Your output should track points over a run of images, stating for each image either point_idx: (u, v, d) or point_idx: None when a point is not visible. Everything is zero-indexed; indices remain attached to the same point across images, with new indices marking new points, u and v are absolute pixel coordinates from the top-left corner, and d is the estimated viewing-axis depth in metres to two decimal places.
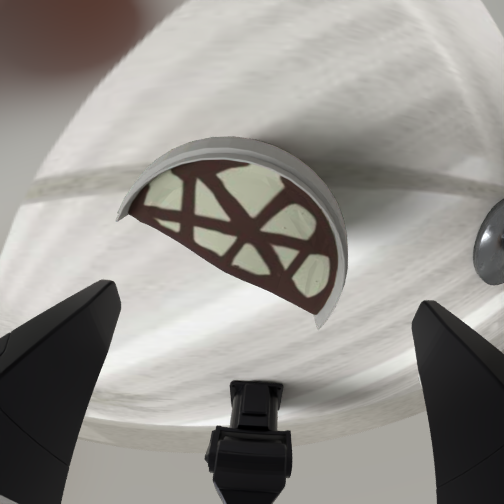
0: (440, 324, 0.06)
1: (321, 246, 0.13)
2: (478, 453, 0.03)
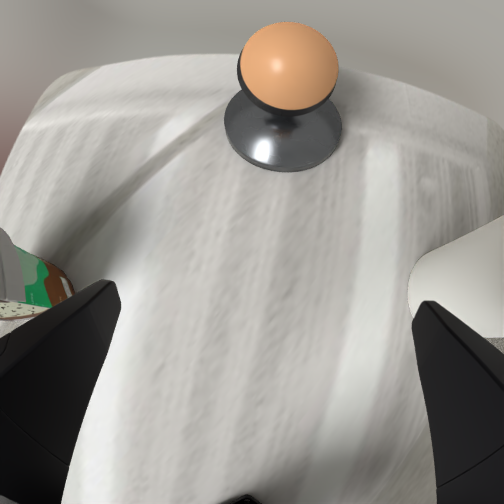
0: (440, 324, 0.06)
1: None
2: (478, 453, 0.03)
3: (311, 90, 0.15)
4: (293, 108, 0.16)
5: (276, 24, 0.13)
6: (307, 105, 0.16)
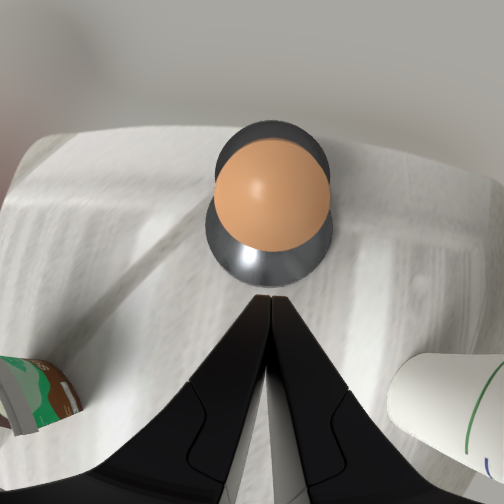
0: (271, 323, 0.06)
1: None
2: None
3: (296, 229, 0.15)
4: (276, 250, 0.16)
5: (256, 145, 0.13)
6: (292, 246, 0.16)
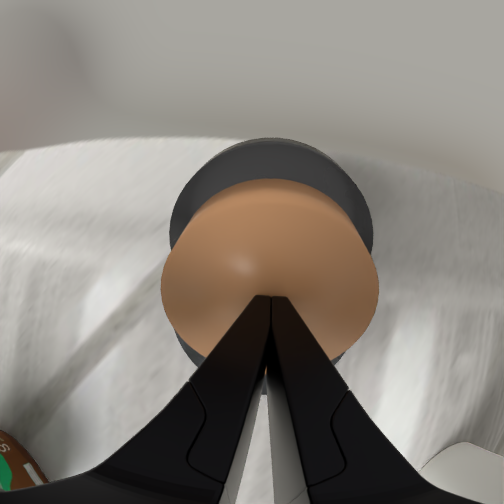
0: (271, 323, 0.06)
1: None
2: None
3: None
4: None
5: (234, 211, 0.06)
6: None
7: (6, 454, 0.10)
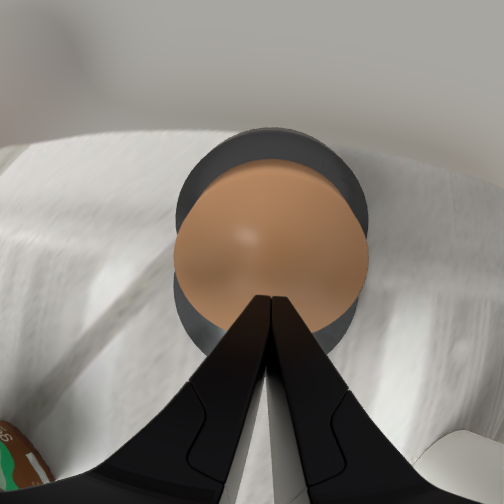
0: (271, 323, 0.06)
1: None
2: None
3: (309, 314, 0.09)
4: None
5: (241, 182, 0.07)
6: None
7: (9, 443, 0.11)
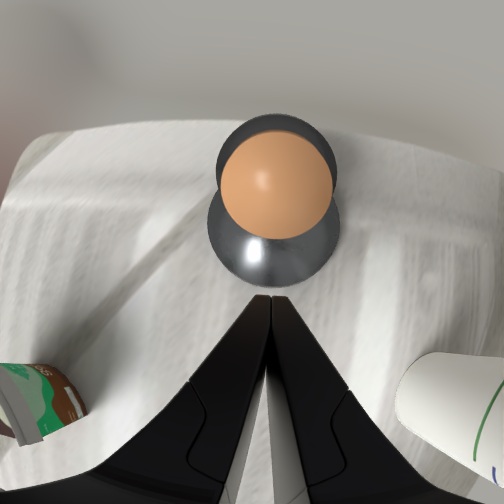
0: (271, 323, 0.06)
1: None
2: None
3: (300, 217, 0.16)
4: (281, 237, 0.16)
5: (260, 138, 0.14)
6: (296, 233, 0.16)
7: (49, 377, 0.17)
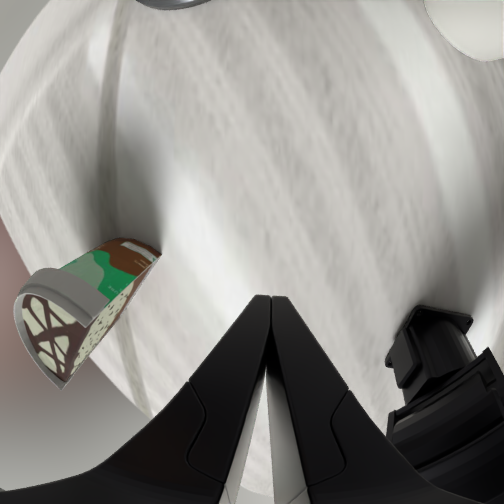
0: (271, 323, 0.06)
1: (43, 298, 0.13)
2: None
3: None
4: None
5: None
6: None
7: (100, 247, 0.19)
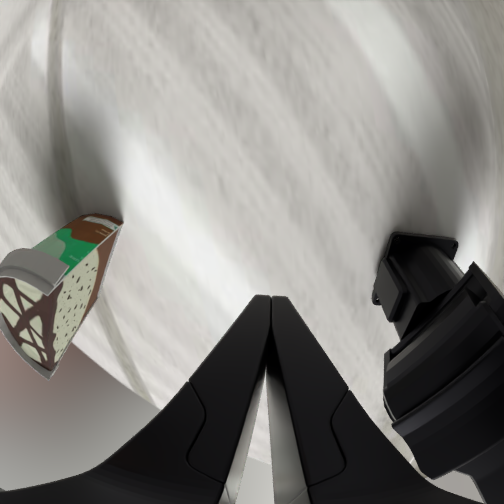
0: (271, 323, 0.06)
1: (11, 281, 0.12)
2: None
3: None
4: None
5: None
6: None
7: (64, 226, 0.18)
